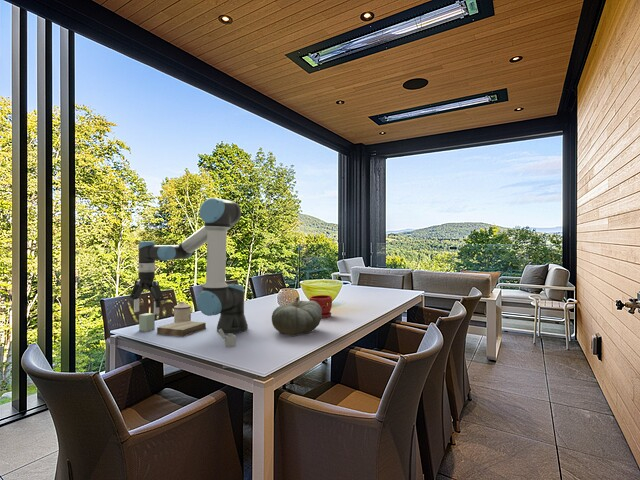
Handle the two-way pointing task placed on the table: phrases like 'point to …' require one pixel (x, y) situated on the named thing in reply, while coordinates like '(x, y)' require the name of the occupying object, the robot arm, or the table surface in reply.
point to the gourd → (297, 317)
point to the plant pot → (323, 304)
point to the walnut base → (181, 328)
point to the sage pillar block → (146, 321)
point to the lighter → (228, 339)
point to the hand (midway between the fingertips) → (146, 312)
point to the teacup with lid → (182, 312)
